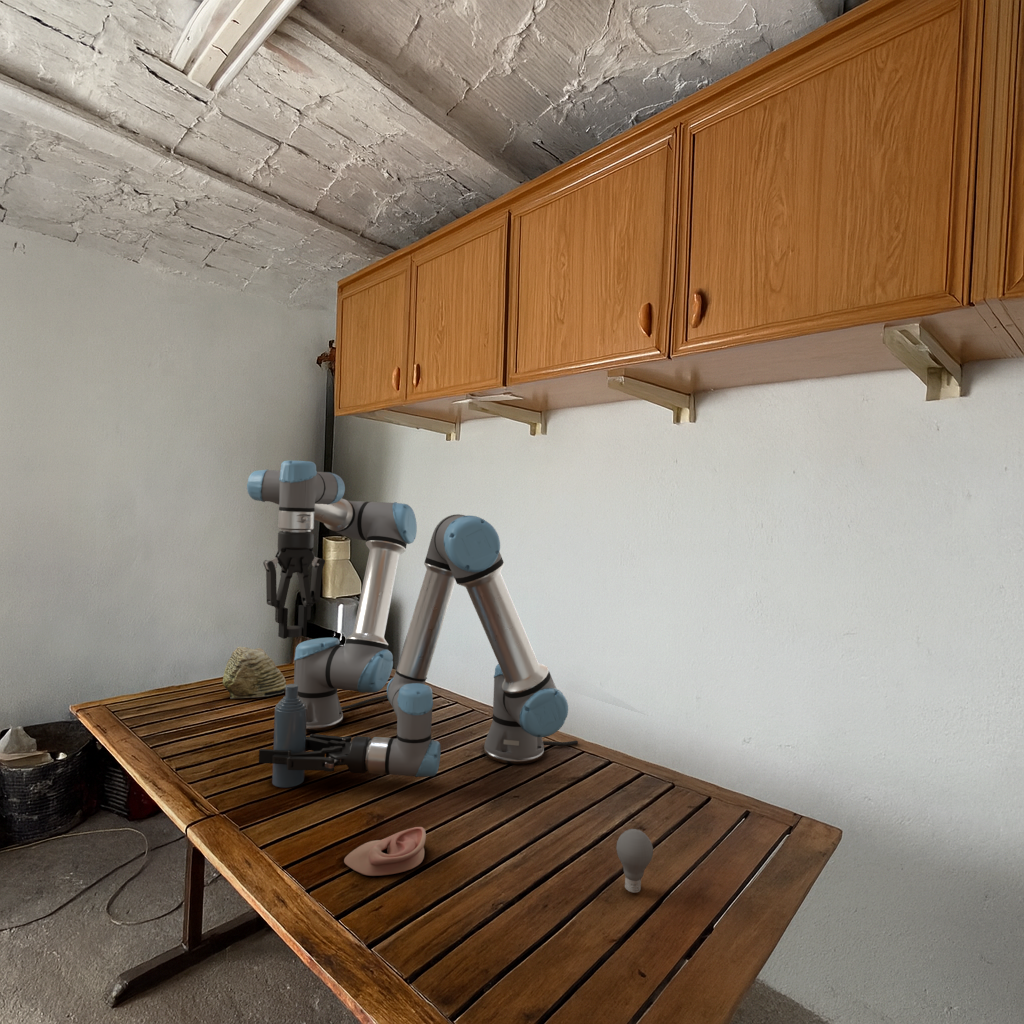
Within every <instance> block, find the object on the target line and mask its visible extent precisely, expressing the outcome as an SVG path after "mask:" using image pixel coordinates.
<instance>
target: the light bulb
mask: <svg viewBox="0 0 1024 1024" xmlns="http://www.w3.org/2000/svg"><path fill="white" fill-rule="evenodd" d="M615 849H616V854H617V857H618V859H619V861H620V863H621V865H622V867H623V873H624V874H623V875H624V876H625V878H624V888H625V890H627V891H628V892H630V893H634V894H635V893H639V892H640V891H641V889H642V887H641V886H642V879H643V877H644V875H645V871H646V868H647V867H648V866H649V864H650V863H651V861H652V859H653V855H654V847H653V843H652V841H651V838H649V836H648V835H647V834H646V833H645V832H643V831H642V830H641V829H636V828H629V829H627V830H625V831H623V832H622V833H621V834H620V835H619V837H618V839H617V841H616V847H615Z"/></svg>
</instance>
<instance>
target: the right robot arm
mask: <svg viewBox="0 0 1024 1024" xmlns="http://www.w3.org/2000/svg"><path fill="white" fill-rule="evenodd" d="M500 550H501V539H500V537H499V533H498V532H497V530H496V528H495V527H494V526H493V525H492V524H491V523H490V522H488V521H487V520H486V519H484V518H482V517H479V516H476V515H465V514H450V515H448V516H446V517H444V518H442V519H441V520H440V522H438V523H437V524H436V526H435V527H434V530H433V532H432V535H431V538H430V542H429V545H428V549H427V552H426V556H425V560H424V562H423V564H424V566H425V568H426V570H425V574H424V577H423V580H422V584H421V587H420V590H419V594H418V597H417V600H416V604H415V607H414V610H413V613H412V616H411V620H410V623H409V627H408V629H407V633H406V637H405V639H404V643H403V646H402V649H401V653H400V656H399V658H398V659H399V660H398V662H397V666H396V669H395V672H394V675H393V677H392V678H391V679H390V680H388V682H387V685H386V695H387V698H386V699H387V701H388V702H389V704H390V706H391V707H392V710H393V711H394V714H395V716H396V719H397V721H396V738H394V737H380V736H374V737H373V738H371V736H361V735H360V736H359V735H357V736H353V738H352V736H337V735H327V734H318V733H311V734H309V736H306V749H305V752H296V753H291V750H288V751H287V750H273V749H271V748H270V749H269V748H268V749H267V748H260V749H259V750H258V763H259V764H272V765H273V764H287V769H288V770H305V771H323V772H328V773H332V772H335V768H336V767H339V766H347V769H348V771H349V773H353V774H366V773H367V772H368V773H369V774H371V775H373V774H375V775H379V776H380V777H381V776H382V777H383V776H384V775H390V776H391V775H392V776H402V777H403V776H405V777H415V778H429V777H435V776H436V775H437V774H438V771H439V769H440V762H441V755H442V754H441V743H440V741H438V740H435V739H432V723H433V706H434V699H433V698H434V697H433V689H432V687H431V686H430V685H428V684H426V681H427V679H426V677H427V678H428V674H429V671H430V667H431V664H432V660H433V657H434V655H435V650H436V647H437V644H438V641H439V638H440V634H441V631H442V628H443V624H444V622H445V619H446V615H447V611H448V609H449V606H450V601H451V598H452V595H453V593H454V589H455V585H456V584H457V585H458V586H462V587H464V588H465V589H466V591H467V593H468V596H469V598H470V601H471V603H472V605H473V607H474V609H475V612H476V614H477V616H478V619H479V621H480V624H481V626H482V628H483V630H484V634H485V635H486V638H487V640H488V642H489V645H490V648H491V649H492V651H493V654H494V656H495V659H496V661H497V663H498V664H497V665H495V669H494V675H493V701H492V702H493V703H492V720H491V721H492V722H491V724H490V727H489V730H488V732H487V735H486V738H485V740H484V741H485V742H484V745H483V752H484V755H485V756H486V757H487V758H489V759H490V760H492V761H494V762H498V763H502V764H507V765H527V764H531V763H535V762H537V761H540V760H542V759H543V757H544V754H545V746H555V747H570V746H576V745H578V744H579V741H578V740H570V741H549V740H543V738H547V737H551V736H552V735H554V734H556V733H557V732H558V731H559V730H560V729H562V728H563V726H564V724H565V723H566V720H567V718H568V714H569V703H568V699H567V698H566V696H565V695H564V694H563V692H562V691H561V690H560V689H558V688H557V687H556V684H555V682H554V679H553V677H552V675H551V672H550V670H549V668H548V666H547V665H545V664H543V663H539V661H538V657H537V656H536V653H535V651H534V648H533V646H532V644H531V642H530V639H529V636H528V634H527V632H526V629H525V627H524V624H523V621H522V620H521V618H520V614H519V612H518V610H517V608H516V605H515V602H514V601H513V598H512V596H511V593H510V591H509V589H508V586H507V584H506V581H505V578H504V576H503V574H502V570H503V568H504V566H505V562H504V559H503V557H502V554H501V552H500Z"/></svg>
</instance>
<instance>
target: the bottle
mask: <svg viewBox="0 0 1024 1024" xmlns="http://www.w3.org/2000/svg"><path fill="white" fill-rule="evenodd" d="M285 689H286V690H285V691H284V693H285V695H284V696H283V698H281V699H280V700H279V701H278V703H277V704H275V707H274V719H273V720H274V721H273V745H272V750H287V751H288V750H291V753H296V752H305V749H306V737H307V732H306V723H307V705H306V703H305V702H304V701H303V700H302V699H301V698H300V697H299V696H298V685H297V684H294V683H288V684H286V686H285ZM305 772H306V770H288V769H287V764H272V772H271V773H272V774H271V784H272V785H273V786H275V787H277V788H283V789H284V788H285V789H286V788H294V787H296V786H299V785H301V784H302V783H303V782H304V781H305V776H306V775H305Z"/></svg>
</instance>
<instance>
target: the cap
mask: <svg viewBox="0 0 1024 1024" xmlns="http://www.w3.org/2000/svg"><path fill="white" fill-rule="evenodd" d="M301 635H302V627H301V626H298V625H287V638H299V637H302V636H301Z"/></svg>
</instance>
